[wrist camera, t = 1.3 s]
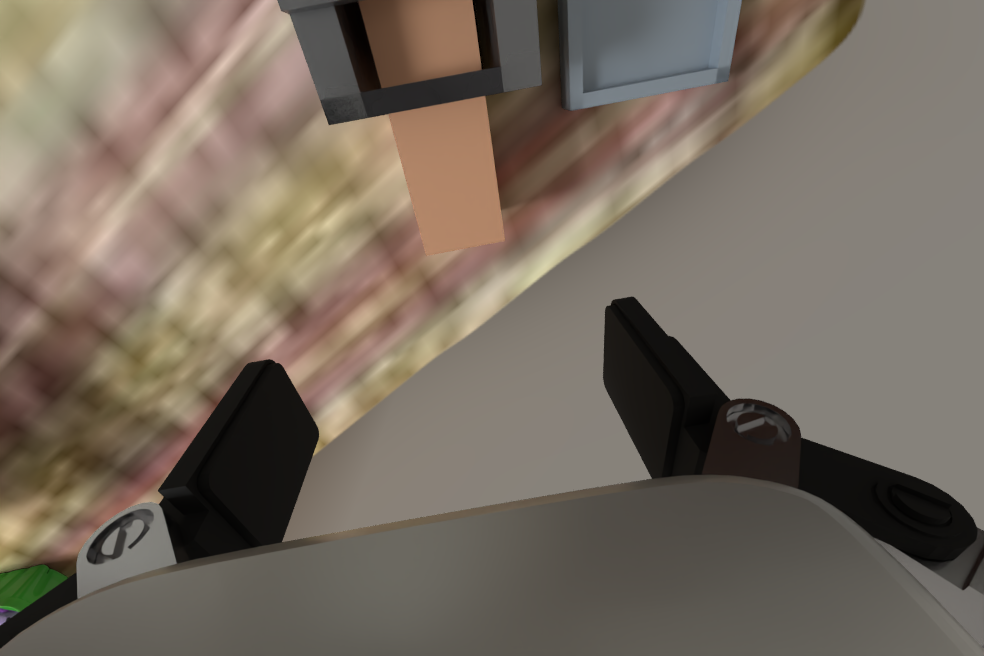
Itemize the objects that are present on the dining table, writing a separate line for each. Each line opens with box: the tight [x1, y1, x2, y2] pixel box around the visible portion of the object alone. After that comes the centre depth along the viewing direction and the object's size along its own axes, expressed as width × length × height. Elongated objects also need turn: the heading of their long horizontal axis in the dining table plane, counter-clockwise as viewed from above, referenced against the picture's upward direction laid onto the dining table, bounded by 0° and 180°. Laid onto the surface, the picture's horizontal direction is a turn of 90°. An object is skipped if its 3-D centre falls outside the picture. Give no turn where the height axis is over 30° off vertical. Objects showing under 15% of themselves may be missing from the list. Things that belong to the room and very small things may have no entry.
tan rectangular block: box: [358, 0, 505, 256], centre depth 23 cm, size 13×5×6 cm, turn 9°
